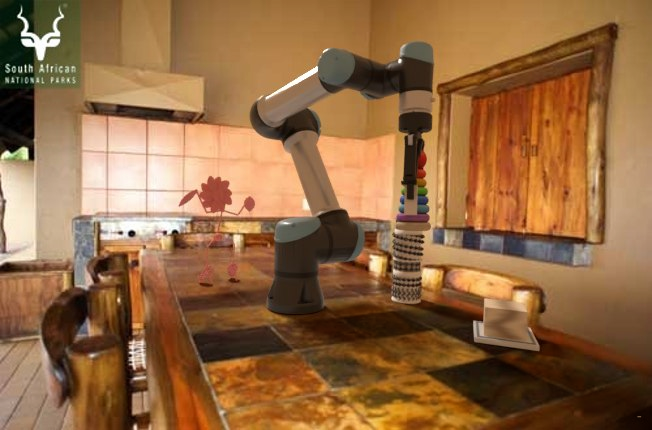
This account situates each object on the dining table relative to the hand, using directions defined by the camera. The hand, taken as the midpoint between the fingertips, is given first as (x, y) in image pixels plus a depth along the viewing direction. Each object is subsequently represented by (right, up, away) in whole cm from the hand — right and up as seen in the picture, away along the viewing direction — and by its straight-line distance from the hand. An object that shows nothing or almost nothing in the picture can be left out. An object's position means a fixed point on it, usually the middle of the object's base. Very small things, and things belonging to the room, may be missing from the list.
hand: (413, 214), depth 90 cm
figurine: (-58, -22, +43) cm, 75 cm away
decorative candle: (+3, -25, +24) cm, 34 cm away
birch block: (+18, -26, -5) cm, 32 cm away
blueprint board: (+18, -27, -5) cm, 33 cm away
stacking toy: (0, -4, 0) cm, 4 cm away
